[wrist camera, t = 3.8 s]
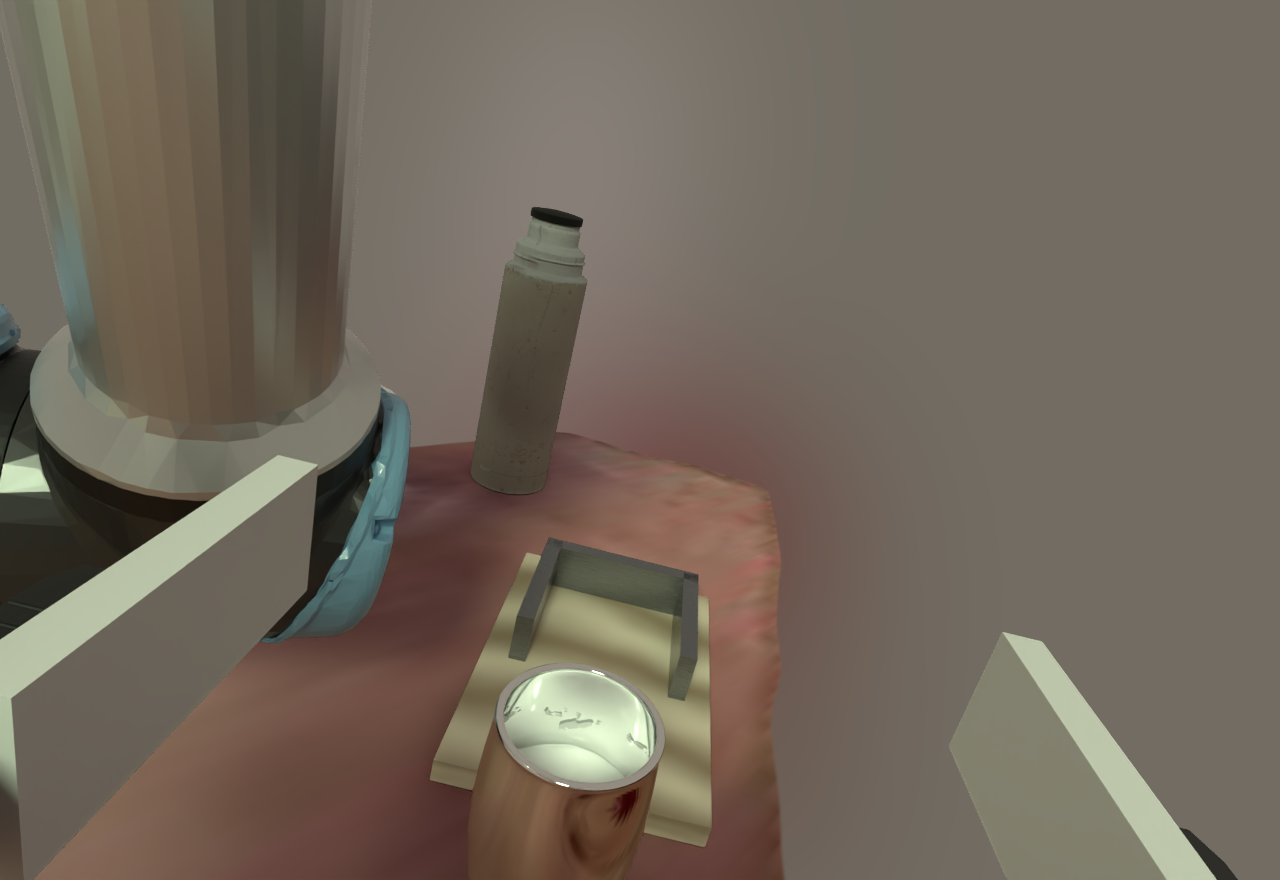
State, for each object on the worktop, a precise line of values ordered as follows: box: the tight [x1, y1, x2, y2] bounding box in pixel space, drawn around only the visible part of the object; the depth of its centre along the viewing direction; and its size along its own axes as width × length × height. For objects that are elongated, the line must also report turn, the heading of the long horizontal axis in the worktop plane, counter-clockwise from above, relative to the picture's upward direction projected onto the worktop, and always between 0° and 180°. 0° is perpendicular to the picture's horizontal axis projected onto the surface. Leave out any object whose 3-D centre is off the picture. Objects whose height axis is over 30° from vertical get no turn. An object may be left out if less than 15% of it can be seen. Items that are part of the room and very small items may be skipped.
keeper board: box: [430, 553, 712, 848], centre depth 54 cm, size 24×16×2 cm, turn 175°
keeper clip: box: [508, 538, 698, 701], centre depth 56 cm, size 11×12×4 cm
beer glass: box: [467, 663, 665, 880], centre depth 31 cm, size 7×7×15 cm
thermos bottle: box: [471, 207, 587, 495], centre depth 76 cm, size 8×8×28 cm
